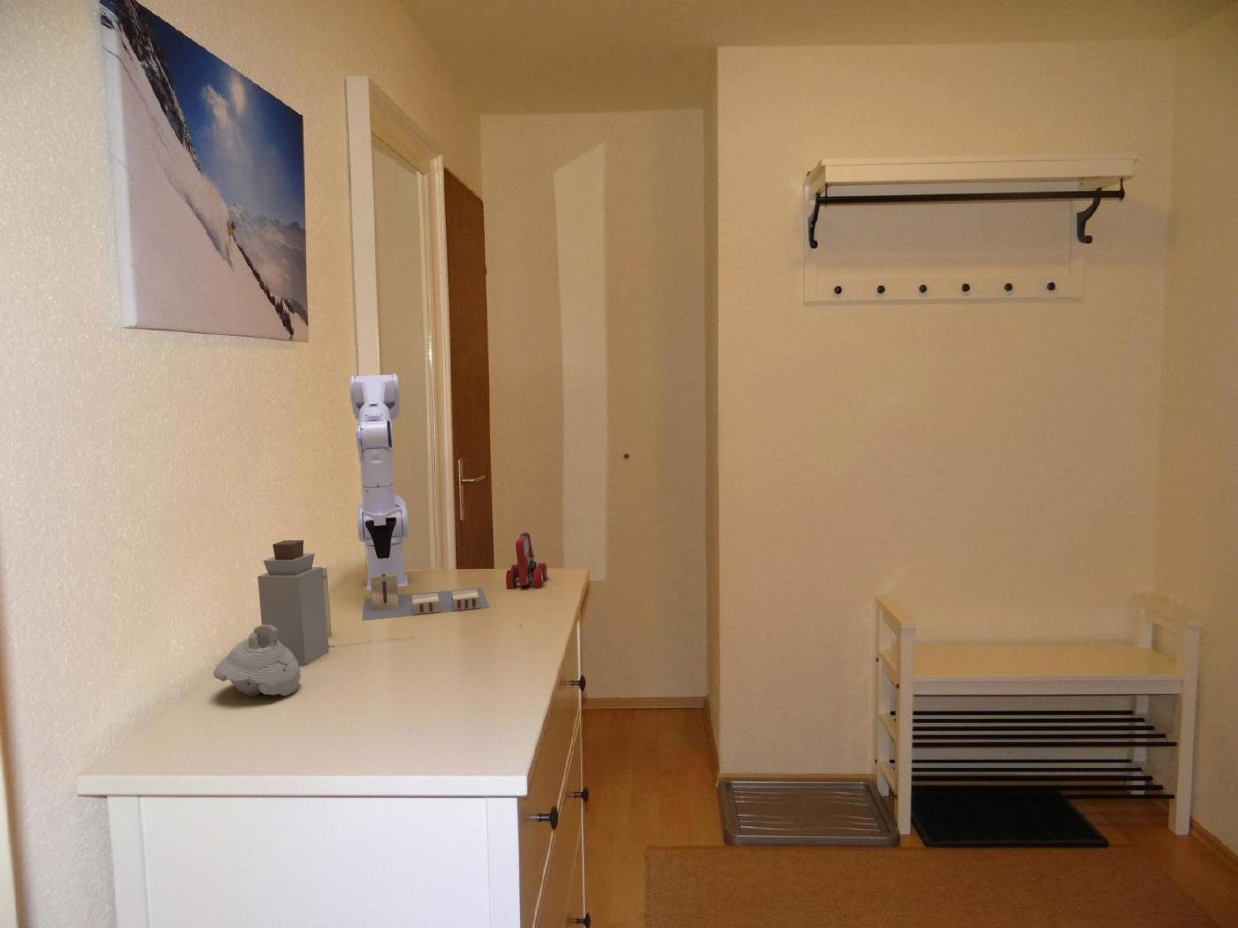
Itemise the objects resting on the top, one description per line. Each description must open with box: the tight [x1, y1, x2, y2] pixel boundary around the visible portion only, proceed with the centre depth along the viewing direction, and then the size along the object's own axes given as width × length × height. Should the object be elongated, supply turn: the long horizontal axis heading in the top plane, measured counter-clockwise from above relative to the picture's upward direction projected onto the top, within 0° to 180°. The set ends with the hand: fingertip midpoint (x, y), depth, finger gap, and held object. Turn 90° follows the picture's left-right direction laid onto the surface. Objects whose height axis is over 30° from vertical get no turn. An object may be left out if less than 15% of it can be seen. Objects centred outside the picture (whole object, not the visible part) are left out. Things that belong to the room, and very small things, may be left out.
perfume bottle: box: [257, 539, 330, 666], centre depth 140 cm, size 7×7×18 cm
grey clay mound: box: [213, 624, 302, 697], centre depth 126 cm, size 12×12×11 cm
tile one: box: [370, 573, 399, 611], centre depth 166 cm, size 2×4×6 cm, turn 103°
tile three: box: [451, 589, 480, 610], centre depth 165 cm, size 2×4×6 cm
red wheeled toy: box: [505, 531, 548, 590], centre depth 181 cm, size 7×12×10 cm, turn 177°
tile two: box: [412, 593, 440, 614], centre depth 164 cm, size 2×4×6 cm
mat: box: [361, 586, 490, 621], centre depth 169 cm, size 16×22×1 cm
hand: (383, 557), depth 171 cm, fingers closed
